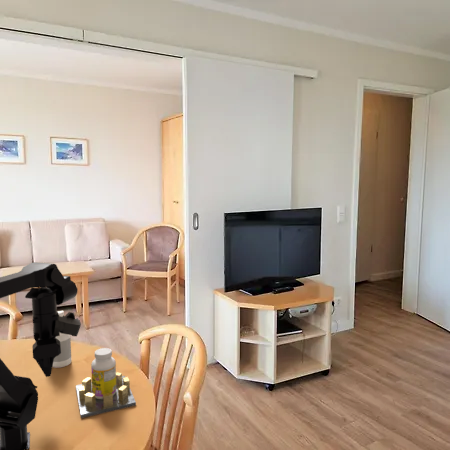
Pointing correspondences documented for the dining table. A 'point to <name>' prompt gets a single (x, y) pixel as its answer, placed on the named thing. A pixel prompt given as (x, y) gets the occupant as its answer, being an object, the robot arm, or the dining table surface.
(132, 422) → the dining table surface
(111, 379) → the supplement bottle
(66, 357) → the spray bottle
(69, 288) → the robot arm
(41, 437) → the dining table surface
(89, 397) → the grey tray with blocks
